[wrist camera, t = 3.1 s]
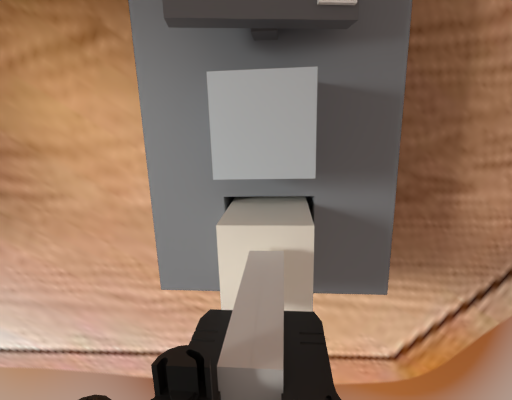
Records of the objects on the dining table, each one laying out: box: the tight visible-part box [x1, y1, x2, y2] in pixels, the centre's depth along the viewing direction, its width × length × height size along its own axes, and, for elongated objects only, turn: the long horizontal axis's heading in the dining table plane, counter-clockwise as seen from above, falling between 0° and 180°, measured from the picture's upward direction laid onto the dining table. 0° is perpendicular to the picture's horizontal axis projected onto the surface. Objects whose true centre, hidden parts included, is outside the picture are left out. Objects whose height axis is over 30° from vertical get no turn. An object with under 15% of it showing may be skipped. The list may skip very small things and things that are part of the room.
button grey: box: [207, 66, 318, 180], centre depth 15 cm, size 4×4×6 cm
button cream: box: [216, 196, 314, 312], centre depth 17 cm, size 4×4×6 cm
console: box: [128, 0, 412, 295], centre depth 17 cm, size 14×24×6 cm, turn 2°
